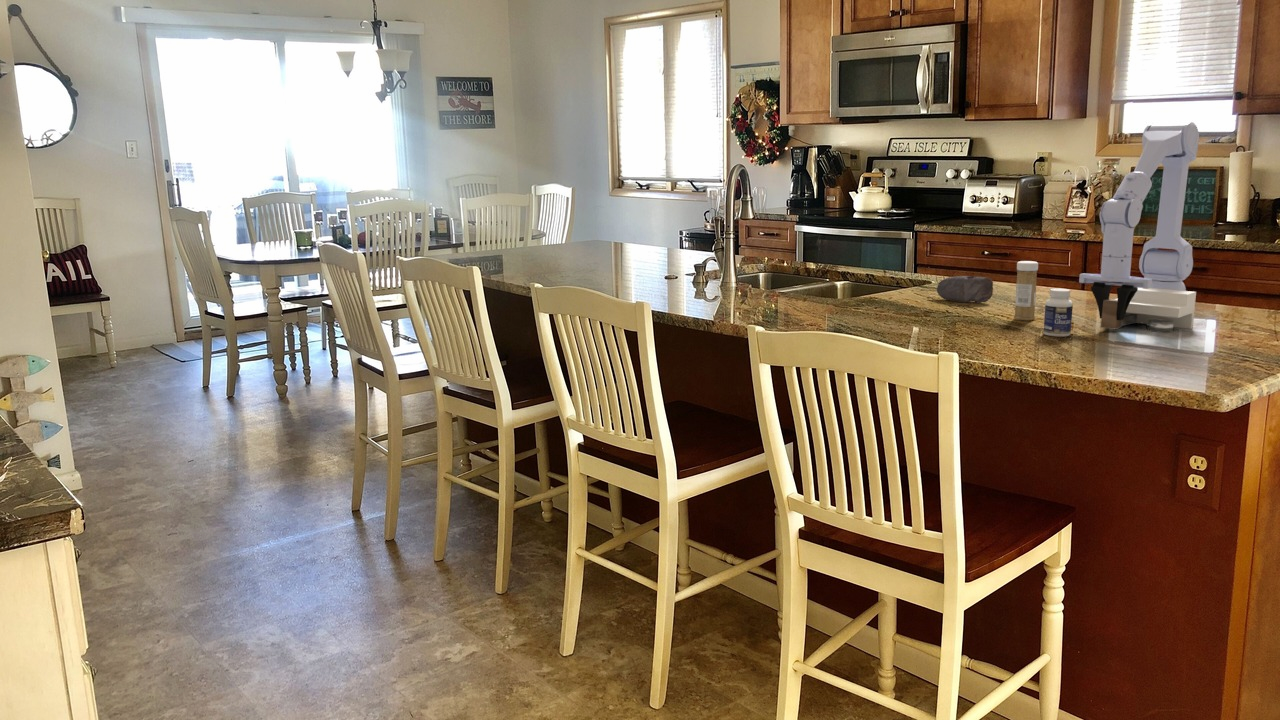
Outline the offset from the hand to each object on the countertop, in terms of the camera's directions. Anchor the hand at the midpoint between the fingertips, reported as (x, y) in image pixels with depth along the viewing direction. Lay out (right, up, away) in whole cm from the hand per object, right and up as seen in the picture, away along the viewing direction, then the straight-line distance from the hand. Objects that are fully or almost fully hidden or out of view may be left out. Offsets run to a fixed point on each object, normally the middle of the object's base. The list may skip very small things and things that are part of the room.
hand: (1111, 318), depth 218 cm
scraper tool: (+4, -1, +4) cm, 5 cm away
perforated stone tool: (-19, +6, +43) cm, 47 cm away
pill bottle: (-13, -4, -2) cm, 14 cm away
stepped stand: (+10, -2, +4) cm, 11 cm away
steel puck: (+11, -3, +1) cm, 11 cm away
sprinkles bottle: (-13, 0, +16) cm, 21 cm away
